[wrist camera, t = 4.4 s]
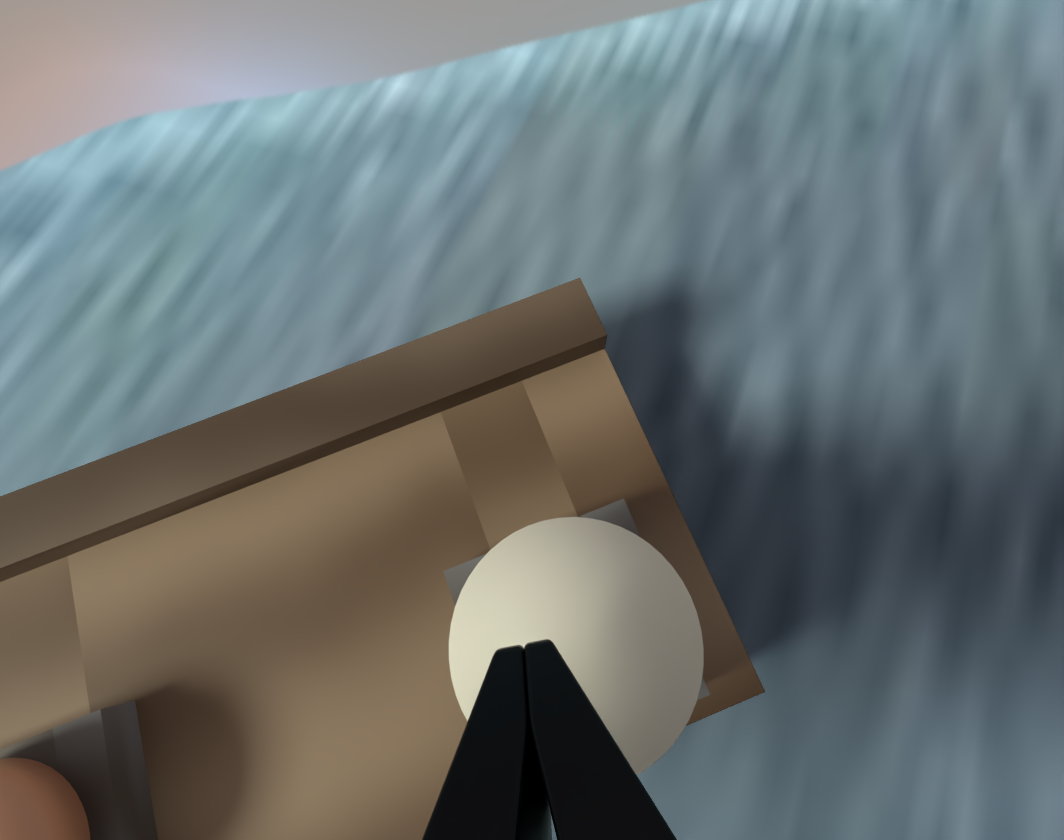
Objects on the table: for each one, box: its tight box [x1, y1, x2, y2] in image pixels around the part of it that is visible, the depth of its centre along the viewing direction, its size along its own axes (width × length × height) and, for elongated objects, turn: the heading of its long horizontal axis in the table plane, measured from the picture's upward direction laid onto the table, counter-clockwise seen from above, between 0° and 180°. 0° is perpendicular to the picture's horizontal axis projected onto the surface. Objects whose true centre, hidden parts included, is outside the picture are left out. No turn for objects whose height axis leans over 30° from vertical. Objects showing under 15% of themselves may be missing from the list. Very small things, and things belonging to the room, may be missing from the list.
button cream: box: [449, 517, 704, 775], centre depth 13 cm, size 5×5×6 cm
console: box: [0, 278, 765, 840], centre depth 17 cm, size 12×22×5 cm, turn 111°
